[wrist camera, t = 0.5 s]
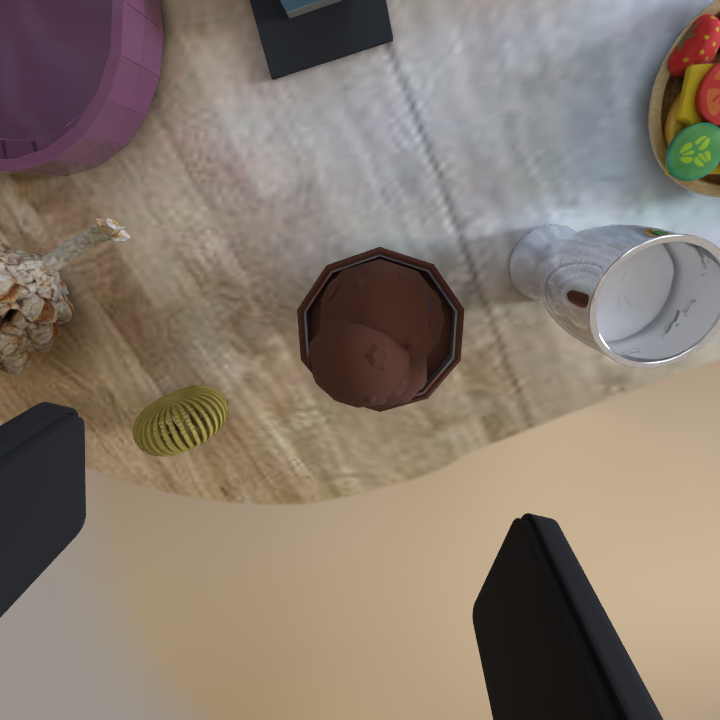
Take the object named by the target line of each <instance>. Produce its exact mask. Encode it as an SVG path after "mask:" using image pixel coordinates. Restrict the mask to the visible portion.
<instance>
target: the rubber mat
mask: <svg viewBox="0 0 720 720" xmlns="http://www.w3.org/2000/svg"><path fill="white" fill-rule="evenodd" d="M250 2H251V5H252V9H253V13H254V16H255V20H256V23H257V27H258V30H259V34H260V38H261V41H262V45H263V48H264V52H265V56H266V59H267V63H268V66H269V70H270V74H271V77H272V79H273V80H274V79H277V78H280V77H283V76H286V75H289V74H293V73H296V72H299V71H302V70H305V69H308V68H311V67H314V66H317V65H320V64H323V63H326V62H329V61H332V60H336V59H339V58H342V57H345V56H348V55H351V54H354V53H357V52H360V51H363V50H366V49H369V48H372V47H375V46H378V45H382V44H385V43H388V42H391V41H393V35H392V30H391V25H390V19H389V14H388V9H387V4H386V0H342V1H339V2H336V3H333V4H330V5H328V6H325V7H322V8H319V9H316V10H313V11H310V12H307V13H304V14H302V15H299V16H296V17H293V18H290V19H289V17H288V15H287V14H286V11H285V9H284V8H283V6H282V4H281V2H280V0H250Z"/></svg>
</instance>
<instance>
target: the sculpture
mask: <svg viewBox="0 0 720 720" xmlns="http://www.w3.org/2000/svg"><path fill="white" fill-rule="evenodd" d="M198 404H199V405H200V407H199V405H198ZM191 406H193V408H194V409H195V412H194V410H193V409H192V407H191ZM184 408H185V409H186V410H187V411H188V413H189V415H190V419H191V420H190V419H189V417H188V415H187V414H186V413H185V410H184ZM206 410H207V411H206ZM172 414H173V415H174V417H175V420H176V421H177V424H178V426H176V424H175V423H174V421H173V420H172ZM227 414H228V404H227V401H226V399H225V397H224V395H223V394H222V393H221V392H220V391H218V390H216V389H215V388H212V387H209V386H204V385H199V386H191V387H187V388H184V389H181V390H178V391H175V392H173V393H171V394H170V395H169V394H168V395H166V396H164V397H162V398H160V399H159V400H157V401H155V402H154V403H152V404H151V405H150V406H148V407H146V408H145V409H144V410H143V411H142V412H141V414H139V416H138V417H137V419H136V421H135V423H134V427H133V438H134V440H135V443H136V444H137V446H138V447H139V448H140V449H141V450H142V451H144V452H145V453H148V454H150V455H153V456H171V455H176V454H179V453H183V452H185V451H187V450H190V449H193V448H195V447H196V446H199V445H200V444H201V443H204V442H205V441H206V440H208V439H210V438H211V437H212V436H213V435H214V434H216V433H217V432H218V431H219V430H220V428H221V427H222V426H223V424H224V422H225V421H226V418H227ZM200 415H201V416H202V418H201V416H200ZM166 418H167V422H168V424H169V425H167V423H166ZM200 418H201V419H200ZM195 421H196V422H195ZM159 422H160V425H159ZM195 423H196V424H195ZM169 426H170V427H169ZM167 431H168V432H170V434H169V433H168V432H167ZM160 434H162V435H160ZM153 435H154V436H153ZM195 444H196V445H195Z"/></svg>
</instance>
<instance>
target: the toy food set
mask: <svg viewBox="0 0 720 720" xmlns="http://www.w3.org/2000/svg"><path fill="white" fill-rule="evenodd" d="M648 132H649V139H650V143H651V147H652V150H653V153H654V155H655V158H656V159H657V161H658V163H659V165H660V166H661V168H662V169H663V171H664V172H665V173H664V175H665V176H669V177H670V178H671V179H672V180H673V181H674V182H676V183H677V184H679V185H680V186H682V187H683V188H685V189H687V190H690V191H692V192H695V193H698V194H702V195H707V196H714V197H720V0H715V1H714V2H712V3H711V4H710V5H709V6H707V7H706V8H705V9H704V10H703V11H702V12H701V13H700V14H698V15H697V16H696V17H695V18H694V19H693V20H692V21H691V22H690V23H689V25H688V26H687V27H686V28H685V29H684V30H683V32H682V33H681V34H680V35H679V37H678V38H677V40H676V41H675V42H674V44H673V45H672V47H671V48H670V50H669V52H668V54H667V55H666V57H665V59H664V61H663V63H662V65H661V67H660V69H659V71H658V74H657V77H656V79H655V82H654V85H653V89H652V92H651V96H650V102H649V110H648Z"/></svg>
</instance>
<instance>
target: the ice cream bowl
mask: <svg viewBox="0 0 720 720" xmlns="http://www.w3.org/2000/svg"><path fill="white" fill-rule="evenodd" d="M297 312H298V326H299V340H300V353H301V361H302V362H303V363H304V364H305V365H306V366H307V368H308V369H309V370H310V371H311V372H312V374H313V377H314V379H315V382H316V384H317V385H318V386H319V387H321V388H322V389H323V390H324V391H325V392H326V393H327V394H328V395H329V396H331V397H332V398H333V399H334V400H336V401H338V402H341V403H344V404H348V405H351V406H354V407H366V408H369V409H372V410H375V411H379V412H381V411H385V410H388V409H392V408H395V407H399V406H403V405H406V404H410V403H413V402H417V401H420V400H424V399H428V398H429V396H430V395H431V394H432V393H433V392H434V391H435V389H436V388H437V387H438V386H439V385H440V384H441V383H442V381H443V380H444V379H445V378H446V377H447V376H448V374H449V373H450V372H451V371H452V370H453V369H454V367H455V366H456V365H457V364H458V363H459V362H460V360H461V346H462V332H463V319H464V308H463V307H462V305H461V304H460V302H459V301H458V299H457V298H456V296H455V295H454V294H453V292H452V291H451V289H450V288H449V286H448V285H447V283H446V282H445V280H444V279H443V277H442V276H441V274H440V273H439V272H438V270H437V269H436V267H435V266H434V264H431V263H428V262H425V261H422V260H418V259H415V258H412V257H409V256H406V255H403V254H400V253H397V252H394V251H391V250H387V249H384V248H381V247H378V248H375V249H373V250H370V251H367V252H364V253H361V254H358V255H355V256H352V257H350V258H347V259H344V260H341V261H338V262H335V263H332V264H329V265H327V266H326V267H325V269H324V270H323V272H322V273H321V275H320V276H319V278H318V279H317V281H316V282H315V284H314V285H313V287H312V288H311V290H310V291H309V293H308V294H307V296H306V297H305V299H304V300H303V302H302V303H301V305H300V307H299V308H298V310H297Z"/></svg>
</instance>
